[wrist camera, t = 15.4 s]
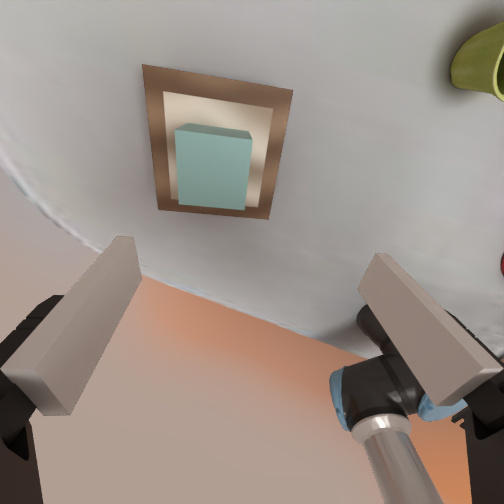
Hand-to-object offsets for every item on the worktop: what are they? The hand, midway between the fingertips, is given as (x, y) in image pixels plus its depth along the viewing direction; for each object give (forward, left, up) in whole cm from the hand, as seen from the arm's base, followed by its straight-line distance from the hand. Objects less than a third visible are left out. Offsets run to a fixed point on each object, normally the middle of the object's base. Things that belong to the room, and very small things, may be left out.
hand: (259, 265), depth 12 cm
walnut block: (+1, +3, -28) cm, 29 cm away
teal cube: (+1, +4, -20) cm, 20 cm away
